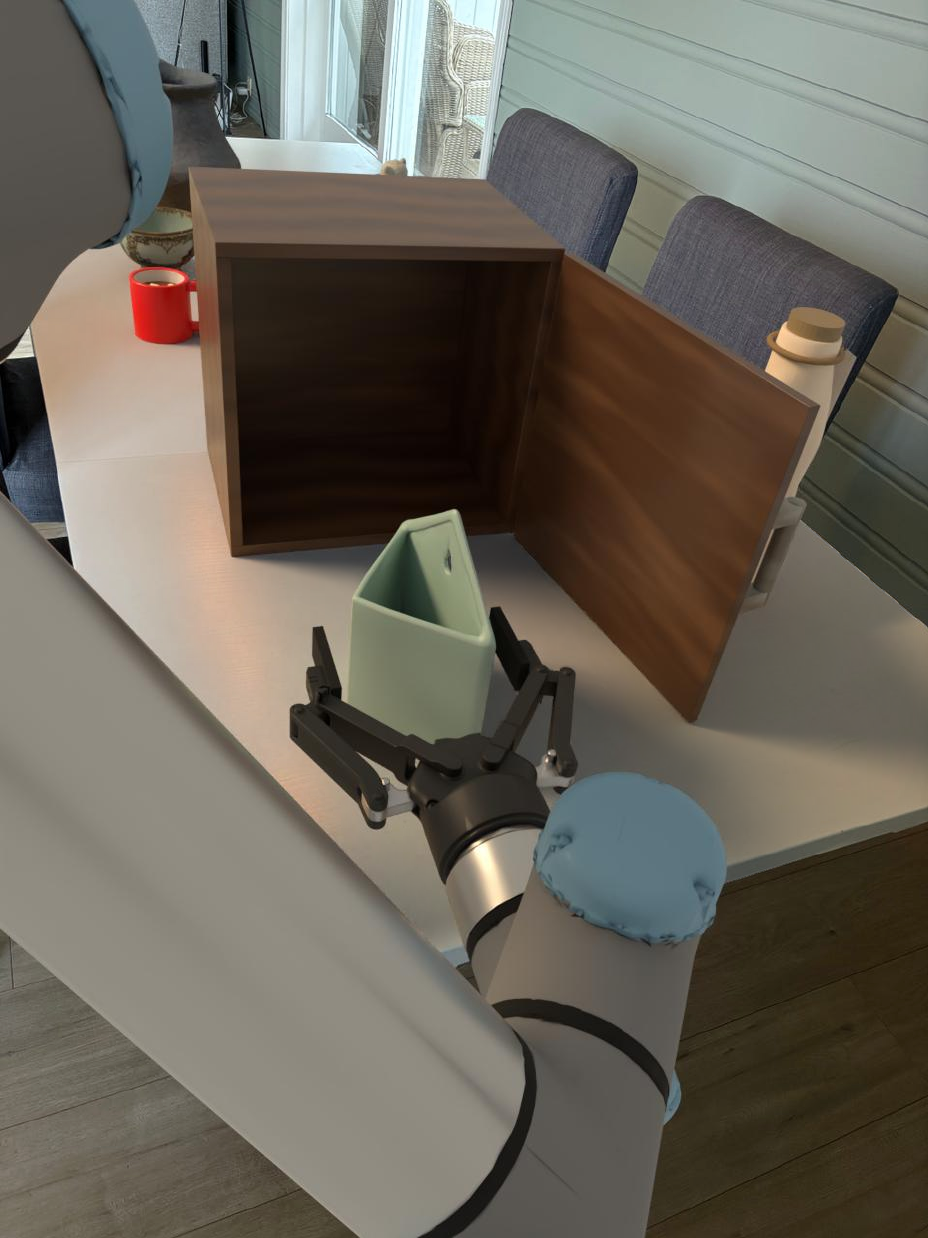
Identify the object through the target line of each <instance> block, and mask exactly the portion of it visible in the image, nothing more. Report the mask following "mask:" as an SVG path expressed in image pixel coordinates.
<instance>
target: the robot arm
mask: <svg viewBox="0 0 928 1238" xmlns="http://www.w3.org/2000/svg"><path fill="white" fill-rule="evenodd" d="M159 58H160V55H159V53H158V50H157V48H156V44H155V42H154V39H153V37H152V35H151V32H150V30H149V26H148V25H147V23H146V21H145V19H144V16H143V14H142V12H141V11H140V8H139V7H138V4H137V3H136V0H0V365H2V364H3V363H4V362H6V360H7V359H8V358H9V357H10V356H11V355H12V353H13V352H14V351H15V350H16V349H17V347H18V346H19V344H20V342H21V341H22V339H23V337H24V336H25V334H26V332H27V331H28V329H29V328H30V325H32V322H33V321H34V319H36V316H37V315H38V313H39V311H40V309H42V306H43V304H44V302H46V299H47V298H48V295H49V294H50V293H51V291H52V290H53V287H54V285H55V284H56V282H57V280H58V279H59V277H60V276H61V275H62V273H63V272H64V271H65V270H66V269H67V267H68V266H69V265H70V264H71V263H72V262H73V261H75V260H76V259H77V258H79V256H80V255H83V254H84V253H85V252H87V251H88V250H103V249H107V248H111V247H113V246H116V245H120V243H121V242H122V240H123V238H124V237H125V236H126V235H128V234H129V233H131V232H132V230H134V229H135V228H137V227H138V226H139V225H141V224H142V223H143V222H144V221H145V220H146V219H147V218H148V217H149V216H150V215H151V214H152V212H153V211H154V210H155V208H156V207H157V205H158V203H159V202H160V200H161V197H162V195H163V193H164V191H165V188H166V185H167V182H168V178H169V174H170V169H171V163H172V153H173V123H172V111H171V104H170V100H169V98H168V97H167V96H166V94H165V93H164V91H163V87H162V81H161V76H160V71H159V67H158V64H159ZM488 615H489V619H490V623H491V626H492V630H493V633H494V637H495V641H496V651H495V656H496V657H497V659H498V661H499V663H500V665H501V667H502V669H503V670H504V672H505V675H506V677H507V678H508V681H509V682H510V684H511V687H512V689H513V690H514V692H518V693H517V695H516V697H515V699H514V701H513V702H512V704H511V706H510V708H509V710H508V712H507V714H506V716H505V717H504V719H502V720H501V721H500V723H499V725H498V727H497V728H496V730H495V732H494V733H493V735H492V737H489V736H486V735H482V733H481V734H480V733H474V734H469V735H466V736H463V737H461V738H442V739H436V740H435V741H434V744H430V743H428V742H427V741H425V740H423V739H421V738H419V737H418V736H416V735H413V734H410V735H408V736H406V735H403V734H402V733H400V732H398V731H396V730H394V729H393V728H391V727H389V726H387V725H385V724H383V723H382V722H380V721H378V720H376V719H374V718H373V717H371V716H369V715H367V714H365V713H364V712H362V711H360V710H358V709H356V708H354V707H353V706H351V705H349V704H347V703H346V701H344V700H342V698H343V697H342V696H343V695H342V694H343V687H342V683H341V680H340V677H339V673H338V670H337V667H336V664H335V661H334V660H335V659H334V657H333V654H332V651H331V650H332V649H331V647H330V644H329V641H328V637H327V636H326V635H327V634H326V631H325V628H324V626H323V625H320V626H312V627H311V629H312V631H311V632H312V635H311V636H312V637H311V657H312V660H313V661H312V662H313V663H314V666H307V668H306V671H305V689H306V692H307V697H308V700H309V703H307V704H304V703H301V702H299V703H294V704H292V705H291V706H290V708H289V738H290V740H291V741H292V742H293V743H294V745H296V746H297V747H298V748H299V749H300V750H301V751H302V752H303V753H304V754H305V755H307V757H308V758H309V759H310V760H311V761H313V763H314V764H316V765H317V766H318V767H319V768H320V769H321V770H322V771H323V772H324V773H325V774H326V775H327V776H328V777H329V778H330V779H331V780H332V781H334V783H335V784H336V785H337V786H338V787H340V788H341V789H342V790H343V791H344V792H345V793H346V794H347V795H348V796H349V797H350V798H351V799H352V800H353V801H354V802H355V803H356V804H357V805H358V808H359V810H360V813H361V814H362V817H363V819H364V822H365V823H366V825H367V827H368V828H369V829H371V830H374V831H376V830H377V831H378V830H382V829H383V828H384V827H385V826H386V823H387V819H388V818H391V817H393V816H397V815H401V814H404V813H408V812H410V813H411V814H412V815H414V816H415V817H416V818H417V819H418V820H419V822H420V823H421V825H422V829H423V832H424V836H425V839H426V841H427V844H428V847H429V850H430V852H431V855H432V858H433V861H434V865H435V867H436V870H437V873H438V876H439V879H440V881H441V882H442V885H444V887H445V888H444V891H445V894H446V897H447V900H448V904H449V906H450V909H451V913H452V915H453V918H454V921H455V924H456V927H457V930H458V933H459V936H460V939H461V942H462V945H463V949H464V952H465V953H466V955H467V959H468V961H469V964H470V967H471V969H472V971H473V975H474V978H475V980H476V983H477V987H478V989H476V988H475V987H474V986H473V985H472V983H470V982H469V981H468V980H467V979H466V978H465V976H463V975H462V973H461V972H460V971H459V970H458V969H457V968H456V967H455V966H454V965H453V964H452V963H451V962H450V961H449V960H448V959H447V958H446V956H444V954H443V953H442V952H440V950H439V949H438V948H437V947H436V946H435V945H434V944H433V943H432V942H431V941H430V940H429V939H428V937H426V936H425V934H424V933H422V932H421V930H420V929H419V928H418V927H417V926H416V925H415V924H414V923H413V922H412V921H411V920H410V919H409V918H408V917H407V916H406V914H405V913H403V911H402V910H400V908H399V907H398V906H397V905H396V904H395V903H394V902H393V901H392V900H391V899H390V898H389V896H387V895H386V894H385V893H384V892H383V890H381V888H380V887H378V885H377V884H376V883H375V882H374V881H373V880H372V879H371V878H370V877H369V876H368V875H367V874H366V872H365V871H364V870H362V869H361V868H360V867H359V865H358V864H357V863H356V862H355V861H354V860H353V859H352V858H351V857H350V856H349V855H348V854H347V852H345V851H344V850H343V849H342V848H341V847H340V846H339V844H338V843H337V842H336V841H335V840H334V839H333V838H332V837H331V836H330V835H329V834H328V833H327V832H326V830H324V829H323V827H321V825H319V823H317V821H316V820H315V819H314V818H313V817H312V816H311V815H310V814H309V812H307V811H306V810H305V809H304V808H303V807H302V805H300V803H299V802H298V801H296V799H295V798H294V797H293V796H292V795H291V794H290V793H289V792H288V791H287V790H286V789H285V788H284V787H283V785H281V784H280V782H279V781H278V780H277V779H275V778H274V776H272V774H271V773H270V772H269V771H268V770H267V769H266V767H264V765H262V764H261V762H259V760H257V758H255V756H254V755H253V754H252V753H251V752H250V751H249V750H248V749H247V748H246V747H245V746H244V745H243V744H242V743H241V742H240V740H238V739H237V738H236V737H235V735H234V734H233V733H232V732H231V731H230V730H229V729H228V728H227V727H226V726H225V725H224V724H223V723H222V722H221V721H220V719H218V718H217V717H216V715H215V714H214V713H213V712H212V711H211V710H210V709H209V708H208V707H207V706H206V705H205V704H204V703H203V702H202V701H201V700H200V698H199V697H197V695H196V694H195V693H194V692H192V690H191V689H190V688H189V687H188V686H187V685H186V683H184V682H183V681H182V679H180V678H179V677H178V676H177V675H176V674H175V672H173V671H172V669H171V668H170V667H169V665H167V664H166V663H165V662H164V661H163V660H162V659H161V658H160V657H159V655H157V653H155V651H154V650H153V649H152V648H151V647H150V646H149V645H148V644H147V643H146V641H144V640H143V639H142V638H141V637H140V636H139V635H138V634H137V633H136V631H135V630H133V628H132V627H131V626H130V625H129V624H128V623H127V622H126V621H125V620H124V619H123V618H122V617H121V616H120V615H119V614H118V613H117V612H116V611H115V610H114V609H113V607H111V605H109V603H108V602H107V601H106V600H105V599H104V598H103V597H102V595H100V594H99V593H98V592H97V591H96V590H95V588H93V586H91V584H90V583H89V582H88V581H87V580H86V579H85V578H84V577H83V576H82V575H81V574H80V573H79V572H78V571H77V569H75V568H74V567H73V566H72V564H71V563H70V562H69V561H68V560H67V559H66V558H65V557H64V556H63V555H62V554H61V553H60V552H59V551H58V550H57V549H56V547H54V546H53V545H52V543H50V541H49V540H48V539H46V537H45V536H44V535H43V534H42V533H41V532H40V531H39V530H38V529H37V528H36V526H34V525H33V524H32V523H31V522H30V521H29V519H28V518H27V517H26V516H24V514H23V513H22V512H21V511H20V510H19V509H18V507H16V506H15V505H14V504H13V502H12V501H10V499H9V498H7V496H6V495H5V494H4V493H3V492H2V491H1V490H0V930H1V931H2V932H4V933H5V934H6V935H7V936H8V937H10V938H11V939H12V940H13V941H14V942H15V943H16V944H18V946H20V948H22V949H23V950H24V951H26V952H27V953H28V954H29V955H30V956H31V957H33V959H35V960H36V961H37V962H38V963H40V965H42V967H44V968H46V970H48V972H50V973H51V974H52V975H53V976H55V977H56V978H57V979H58V980H59V981H61V983H63V984H64V985H65V986H67V988H69V989H70V990H71V991H72V992H74V993H75V994H76V996H78V997H79V998H80V999H81V1000H83V1001H84V1002H85V1004H87V1005H88V1006H90V1007H91V1008H92V1009H93V1010H94V1011H95V1012H96V1013H98V1014H99V1015H100V1016H101V1017H102V1018H103V1019H104V1020H106V1021H107V1022H108V1023H109V1024H111V1025H112V1026H113V1027H114V1028H115V1029H116V1030H118V1031H119V1032H120V1033H121V1034H122V1035H124V1036H125V1038H127V1039H128V1040H129V1041H130V1042H131V1043H133V1044H134V1045H135V1046H136V1047H138V1048H139V1049H140V1050H141V1051H142V1052H143V1053H145V1054H146V1055H147V1056H148V1057H149V1058H150V1059H151V1060H152V1061H154V1062H155V1063H156V1064H157V1065H158V1066H160V1067H161V1069H163V1070H164V1071H165V1072H166V1073H167V1074H169V1075H170V1076H171V1077H172V1078H174V1079H175V1081H176V1082H178V1083H179V1084H181V1085H182V1086H183V1087H184V1088H185V1089H186V1090H188V1091H189V1092H190V1093H191V1094H192V1095H193V1096H194V1097H196V1098H197V1099H198V1100H199V1101H200V1102H201V1103H203V1105H205V1106H206V1107H207V1108H208V1109H210V1110H211V1111H212V1112H213V1113H214V1114H215V1115H216V1116H218V1117H219V1118H220V1119H221V1120H223V1122H224V1123H226V1124H227V1125H228V1126H229V1127H230V1128H231V1129H233V1131H235V1132H236V1133H237V1134H239V1135H240V1136H241V1137H242V1138H243V1139H244V1140H245V1141H247V1142H248V1143H249V1144H250V1145H252V1146H253V1148H254V1149H256V1150H257V1151H258V1152H260V1153H261V1154H262V1155H263V1156H264V1157H265V1158H266V1159H268V1161H270V1162H271V1163H272V1164H273V1165H275V1166H276V1167H277V1168H278V1169H279V1170H281V1171H282V1172H283V1173H284V1174H285V1175H286V1176H287V1177H289V1178H290V1179H291V1180H292V1181H294V1183H295V1184H296V1185H298V1186H299V1187H300V1188H301V1189H303V1191H305V1192H306V1193H307V1194H308V1195H309V1196H311V1197H312V1199H314V1200H315V1201H316V1202H318V1203H319V1204H320V1205H321V1206H322V1207H324V1208H325V1209H326V1210H327V1211H328V1212H329V1213H331V1214H332V1215H333V1216H334V1217H335V1218H336V1219H337V1220H339V1221H340V1222H341V1223H342V1224H343V1225H344V1226H346V1227H347V1228H348V1229H349V1230H350V1231H351V1232H352V1233H354V1234H355V1235H356V1236H357V1237H358V1238H646V1233H647V1227H648V1220H649V1214H650V1208H651V1202H652V1198H653V1197H652V1196H653V1191H654V1185H655V1178H656V1173H657V1167H658V1159H659V1154H660V1148H661V1142H662V1136H663V1130H664V1125H666V1123H668V1122H669V1121H670V1120H671V1119H672V1117H673V1116H674V1115H675V1113H676V1111H677V1110H678V1108H679V1105H680V1103H681V1099H682V1091H681V1084H680V1081H679V1078H678V1075H677V1072H676V1070H675V1067H676V1060H677V1056H678V1051H679V1045H680V1040H681V1034H682V1029H683V1024H684V1023H683V1022H684V1017H685V1012H686V1007H687V1000H688V995H689V989H690V984H691V978H692V972H693V967H694V961H695V956H696V954H697V949H698V946H699V943H700V941H701V937H702V934H705V931H706V930H707V929H708V928H710V927H711V926H712V925H713V923H714V921H715V918H716V916H717V906H716V905H717V903H718V900H719V897H720V895H721V893H722V890H723V888H724V884H725V882H726V877H727V874H728V873H727V872H728V861H727V860H728V858H727V852H726V848H725V845H724V841H723V838H722V836H721V834H720V832H719V830H718V828H717V826H716V824H715V823H714V822H713V820H712V819H711V817H710V816H709V815H708V813H707V812H706V811H705V810H704V809H703V808H702V807H701V806H700V805H699V804H698V803H697V802H696V801H695V800H694V799H693V798H691V796H689V795H687V793H685V792H684V791H682V790H681V789H679V788H677V787H675V786H673V785H671V784H670V783H667V782H660V781H659V780H657V779H656V778H654V777H646V776H645V775H643V774H642V773H641V774H640V773H636V772H632V771H631V772H629V771H607V772H601V773H596V774H592V775H590V776H587V777H584V778H582V779H580V780H578V781H576V782H575V781H574V780H575V778H576V773H577V771H578V768H579V767H578V766H579V763H578V760H577V757H576V754H575V752H574V749H573V746H572V743H571V740H572V739H571V738H572V727H573V726H572V725H573V716H574V715H573V713H574V703H575V701H574V700H575V689H576V677H577V673H576V671H575V669H574V668H572V667H569V666H562V667H560V668H559V669H558V670H553V669H550V668H549V667H548V666H547V665H545V664H543V663H542V661H541V659H540V658H539V656H538V654H537V652H536V650H535V648H534V647H533V645H532V643H531V642H529V641H528V640H527V639H522V640H521V639H520V640H519V639H518V637H517V635H516V633H515V631H514V629H513V627H512V625H511V624H510V622H509V621H508V618H507V617H506V615H505V613H504V611H503V609H502V607H501V606H490V610H489V614H488ZM544 696H546V697H552V701H551V709H550V721H549V728H548V739H547V746H546V747H547V748H546V753H544V754H543V755H542V756H541V758H540V762H539V765H537V766H536V765H534V764H533V763H532V762H531V761H530V760H528V759H527V758H525V757H523V756H521V755H520V754H518V753H517V752H516V751H517V749H518V747H519V745H520V743H521V741H522V739H523V737H524V735H525V733H526V731H527V729H528V727H529V726H530V724H531V721H532V719H533V717H534V715H535V713H536V712H537V710H538V707H539V706H540V705H542V703H543V699H544ZM362 756H363V757H362ZM364 757H365V758H366V759H368V760H370V761H372V762H374V763H375V764H377V765H378V766H381V767H382V768H384V769H386V770H388V771H389V772H391V773H392V774H393V775H394V777H395V779H396V780H397V781H398V782H399V783H401V784H403V786H406V789H399V788H397V787H395V786H394V785H393V783H391V779H389V778H388V777H382V778H381V777H380V775H379V773H378V772H377V770H376V769H375V768H374V767H373V766H372V765H371V764H370V762H368V761H367V760H366V759H365V758H364ZM416 760H418V761H419V762H418V764H417V766H416ZM574 782H575V783H574ZM542 788H552V789H553V791H554V792H555V793H556V794H558V795H559V796H558V798H557V799H556V800H555V802H554V803H553V805H552V807H551V808H550V807H549V805H548V802H547V800H546V798H545V797H544V794H543V793H542V791H541V789H542ZM478 990H479V991H478Z"/></svg>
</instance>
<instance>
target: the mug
mask: <svg viewBox="0 0 928 1238" xmlns="http://www.w3.org/2000/svg"><path fill="white" fill-rule="evenodd" d="M189 277H190V276H188V275H187V274H186V273H185V272H183V271H182V270H181V271H179V270H176V269H171V268H164V267H148V268H142V269H141V268H138V269H135V270H133V271H131V273H129V275H128V281H129V290H130V301H131V310H132V318H133V327H134V334H135V336H136V337H137V338H138V339H140V340H142V341H145V342H148V343H151V344H152V343H153V344H162V345H167V344H169V345H171V344H178V343H182V342H185V341H187V340H189V339H190V338H192V337H193V335H194V333H193V332H195V333H200V332H199V320H193V317H192V316H193V315H192V302H191V301H192V300H191V293H193V292H195V293H197V287H196V280H190V278H189Z"/></svg>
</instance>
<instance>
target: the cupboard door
mask: <svg viewBox="0 0 928 1238" xmlns="http://www.w3.org/2000/svg"><path fill="white" fill-rule="evenodd" d="M819 409H820V405H819V404H817V403H816V402H814V401H812V400H811V399H809V398H808V397H806V396H804V395H803V394H801V393H799V392H798V391H796V390H795V389H793V388H791V387H790V386H788V385H786V384H785V383H783V382H782V381H780V380H778V379H777V378H775V377H773V376H772V375H770V374H769V373H767V372H765V370H764V369H763V368H761V367H759V366H757V365H756V364H754V363H753V362H752V361H749V360H747V359H746V358H745V357H742V356H741V355H739V354H738V353H736V352H735V351H733V350H731V349H730V348H729V347H726V346H725V345H723V344H721V343H720V342H718V340H715V339H714V338H712V337H710V336H709V335H707V334H706V333H704V332H702V331H700V330H699V329H698V328H696V327H694V326H693V325H691V324H689V323H688V322H686V321H685V320H683V319H681V318H680V317H678V316H676V315H674V314H673V313H672V312H670V311H668V310H667V309H664V308H663V307H661V306H660V305H658V304H657V303H655V302H653V301H652V300H651V299H649V298H647V297H645V296H644V295H642V294H640V293H639V292H637V291H635V290H634V289H632V288H631V287H629V286H628V285H626V284H624V283H622V281H620V280H618V279H616V278H615V277H613V276H611V275H609V274H608V273H606V272H604V271H603V270H602V269H600V268H598V267H596V266H595V265H594V264H591V263H590V262H588V261H587V260H585V259H584V258H582V257H580V255H579V256H578V255H577V254H575V253H574V252H570V253H565V254H564V258H563V264H562V269H561V275H560V280H559V286H558V291H557V297H556V302H555V308H554V313H553V319H552V324H551V330H550V335H549V341H548V346H547V352H546V357H545V363H544V368H543V374H542V379H541V385H540V390H539V396H538V401H537V407H536V412H535V418H534V423H533V429H532V434H531V440H530V445H529V451H528V456H527V462H526V467H525V473H524V478H523V484H522V489H521V495H520V500H519V506H518V511H517V517H516V522H515V528H514V532H512V533H513V534H512V537H514V539H516V540H517V542H518V543H519V544H520V545H521V546H522V547H523V549H525V550H526V551H527V552H528V553H529V555H530V556H532V558H534V560H535V561H536V562H537V563H538V564H539V565H540V566H541V567H542V568H543V569H544V570H545V572H547V574H548V575H549V576H550V577H551V578H552V579H553V580H554V581H555V582H556V583H557V584H558V585H559V586H560V587H561V589H562V590H563V591H564V592H565V593H566V594H567V595H568V596H569V597H570V598H571V599H572V600H573V602H574V603H576V605H578V607H579V608H580V609H581V610H582V611H583V612H584V613H585V614H586V615H587V616H588V617H589V618H590V620H592V621H593V623H595V625H596V626H597V627H598V628H599V629H600V630H601V631H602V632H603V634H605V635H606V636H607V638H608V639H609V640H610V641H611V642H612V643H613V644H614V645H615V646H616V647H617V648H618V649H619V650H620V651H621V652H622V653H623V655H624V656H625V657H626V658H627V659H629V661H630V662H631V663H632V664H633V665H634V666H635V667H636V668H637V670H639V671H640V673H641V674H642V675H643V676H644V677H645V678H646V679H647V681H649V682H650V683H651V685H653V687H655V689H656V690H657V691H658V692H659V693H660V694H661V695H662V696H663V697H664V698H665V700H666V701H667V702H668V703H669V704H670V705H671V706H672V707H673V708H674V709H675V710H676V711H677V712H678V713H679V714H680V715H681V716H682V718H684V720H685V721H686V722H687V723H691V722H694V721H697V720H698V718H699V715H700V713H701V710H702V708H703V706H704V703H705V701H706V698H707V695H708V692H709V690H710V687H711V686H712V683H713V680H714V678H715V675H716V673H717V670H718V667H719V665H720V662H721V659H722V657H723V655H724V653H725V650H726V647H727V645H728V642H729V639H730V637H731V636H732V632H733V629H734V627H735V624H736V622H737V619H738V617H739V615H740V614H743V613H746V612H749V611H753V610H756V609H757V610H758V609H761V608H764V607H765V606H766V604H767V602H768V600H769V597H770V595H771V592H772V590H773V588H774V586H775V583H776V580H777V578H778V575H779V573H780V571H781V568H782V567H783V566H782V565H783V563H784V561H785V558H786V556H787V554H788V551H789V549H790V547H791V545H792V542H793V539H794V537H795V535H796V532H797V531H798V527H799V525H800V522H801V520H802V518H803V515H804V512H805V511H806V507H807V505H808V504H807V502H806V501H805V500H804V499H803V498H799V497H797V496H795V497H787V498H785V495H786V493H787V490H788V487H789V485H790V482H791V480H792V477H793V475H794V472H795V470H796V467H797V465H798V462H799V460H800V457H801V455H802V452H803V449H804V447H805V444H806V442H807V439H808V437H809V434H810V432H811V429H812V427H813V424H814V422H815V419H816V417H817V414H818V411H819ZM773 529H774V531H773V534H772V536H771V539H770V541H769V544H768V546H767V549H766V551H765V554H764V556H763V559H762V561H761V564H760V567H759V569H758V572H757V574H756V577H755V579H754V582H753V583H751V581H752V579H753V576H754V574H755V571H756V569H757V566H758V564H759V561H760V558H761V556H762V553H763V551H764V548H765V546H766V543H767V541H768V538H769V536H770V533H771V531H772V530H773Z"/></svg>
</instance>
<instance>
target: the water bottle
mask: <svg viewBox="0 0 928 1238" xmlns="http://www.w3.org/2000/svg"><path fill="white" fill-rule="evenodd" d="M845 327H846V321H845V320H844V319H843V318H842V317H840V316H839V315H837V314H836V313H833V312H830V311H827V310H824V309H821V308H815V307H809V306H798V307H794V308H792V309H791V310H790V312H789V316H788V319H787V321H785V322H784V323H782V326H781V327H780V329H779V330H775V331H772V332H771V333H769V334H768V335H767V337H766V340H765V341H766V345H767V346H768V347H769V349H770V350H771V354H770V356H769V359H768V361H767V364H766V367H765V370H764V371H765V372H767V373H769V374H770V375H772V376H773V377H775V378H777V379H778V380H780V381H782V382H783V383H785V384H786V385H788V386H790V387H791V388H793V389H795V390H796V391H798V392H799V393H801V394H803V395H804V396H806V397H808V398H809V399H811V400H812V401H814V402H816V403H817V404H819V405H820V409H819V411H818V414H817V417H816V419H815V422H814V424H813V427H812V429H811V432H810V434H809V437H808V439H807V442H806V444H805V447H804V449H803V452H802V455H801V457H800V460H799V462H798V465H797V467H796V470H795V472H794V475H793V477H792V480H791V482H790V485H789V487H788V490H787V493H786V495H785V498H787V497H796V495H797V492H798V489H799V485H800V483H801V482H802V480H803V478H804V476H805V475H806V472H807V471H808V469H809V467H810V465H811V463H812V462H813V460H814V458H815V457H816V454H817V452H818V450H819V448H820V445H821V443H822V441H823V437H824V434H825V429H826V426H827V422H828V420H829V418H830V416H831V413H832V412H833V410H834V408H835V405H836V403H837V401H838V398H839V396H840V394H841V392H842V390H843V388H844V386H845V384H846V382H847V380H848V377H849V375H850V373H851V371H852V368H853V367H854V364H855V362H856V360H857V358H858V357H857V356H856V355H855V354H853V353H852V352H851V351H850V350H849V349H847V347H845V346H844V345H843V344H842V343H843V336H842V335H843V331H844V329H845ZM774 339H776V340H775V341H774ZM773 531H774V529H773V530H772V531H771V533H770V536H769V538H768V541H767V543H766V546H765V548H764V551H763V553H762V556H761V558H760V561H759V564H758V566H757V569H756V571H755V574H754V576H753V579H752V581H751V583H753V582H754V579H755V577H756V574H757V572H758V569H759V567H760V564H761V561H762V559H763V556H764V554H765V551H766V549H767V546H768V544H769V541H770V539H771V536H772V534H773Z"/></svg>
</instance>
